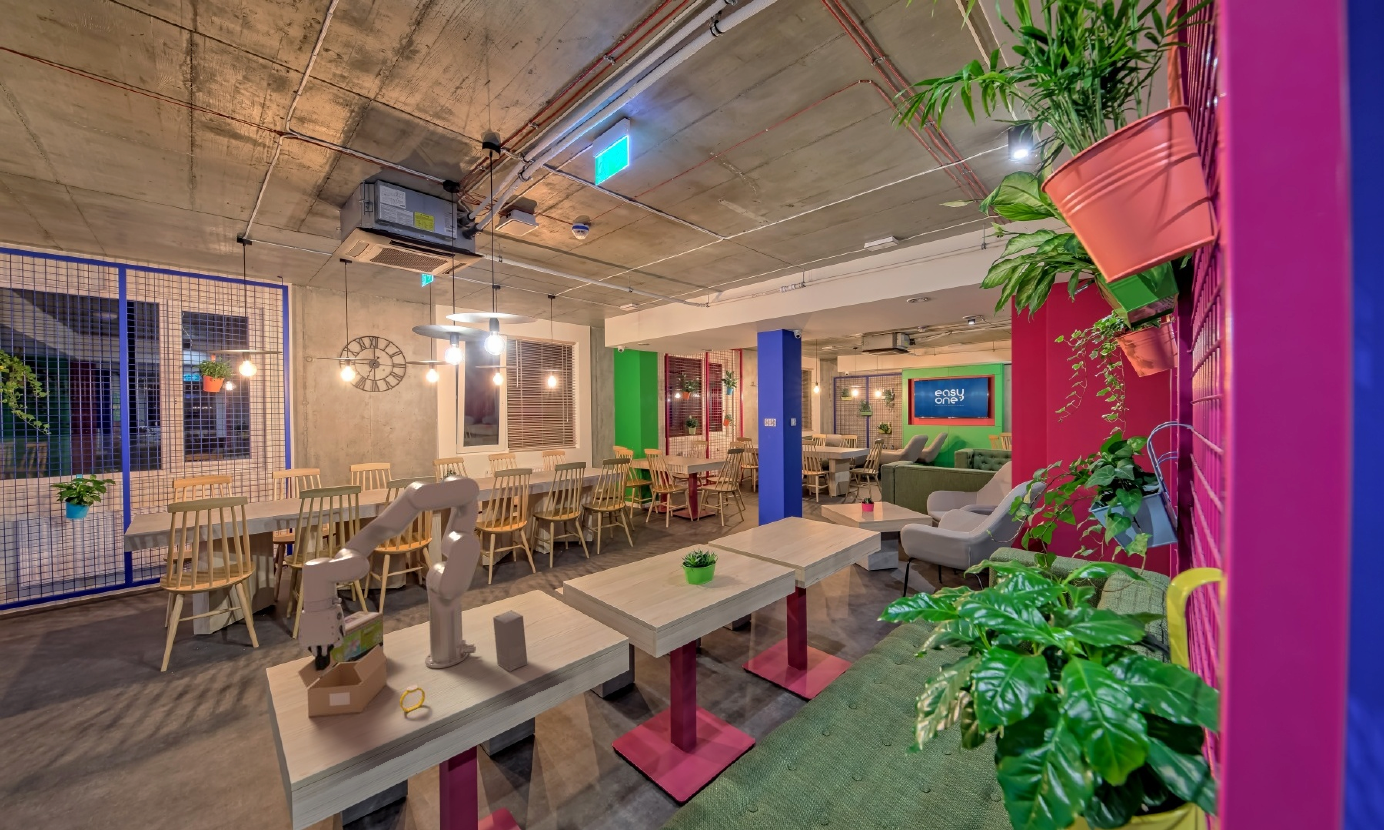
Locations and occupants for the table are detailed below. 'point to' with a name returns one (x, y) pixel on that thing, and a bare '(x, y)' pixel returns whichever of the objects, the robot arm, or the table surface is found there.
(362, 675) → the flap
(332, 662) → the flap
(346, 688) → the carton
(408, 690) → the watch
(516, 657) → the skincare box
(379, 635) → the tea box
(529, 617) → the table surface
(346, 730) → the table surface
